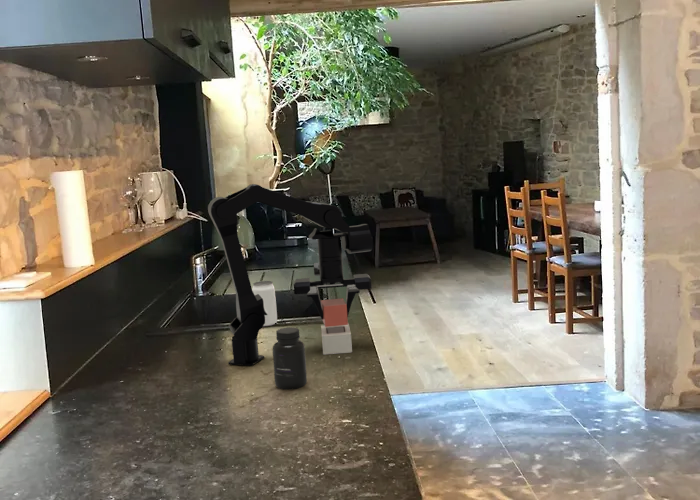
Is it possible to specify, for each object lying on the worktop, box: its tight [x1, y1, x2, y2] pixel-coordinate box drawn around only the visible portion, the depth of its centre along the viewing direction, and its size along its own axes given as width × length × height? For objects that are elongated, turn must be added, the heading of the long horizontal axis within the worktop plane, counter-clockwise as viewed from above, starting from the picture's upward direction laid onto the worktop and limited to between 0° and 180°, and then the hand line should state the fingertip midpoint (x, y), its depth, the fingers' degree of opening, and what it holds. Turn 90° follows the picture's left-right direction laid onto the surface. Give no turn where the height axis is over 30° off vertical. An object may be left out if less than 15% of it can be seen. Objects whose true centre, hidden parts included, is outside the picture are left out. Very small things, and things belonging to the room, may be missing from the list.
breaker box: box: [320, 323, 353, 356], centre depth 171 cm, size 10×7×4 cm
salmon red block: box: [320, 297, 349, 327], centre depth 170 cm, size 7×6×5 cm
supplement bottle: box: [272, 326, 308, 391], centre depth 146 cm, size 7×7×12 cm
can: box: [252, 280, 278, 327], centre depth 198 cm, size 6×6×12 cm
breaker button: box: [327, 327, 344, 334], centre depth 171 cm, size 5×4×3 cm
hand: (334, 318), depth 170 cm, fingers closed on salmon red block, 6 cm apart
